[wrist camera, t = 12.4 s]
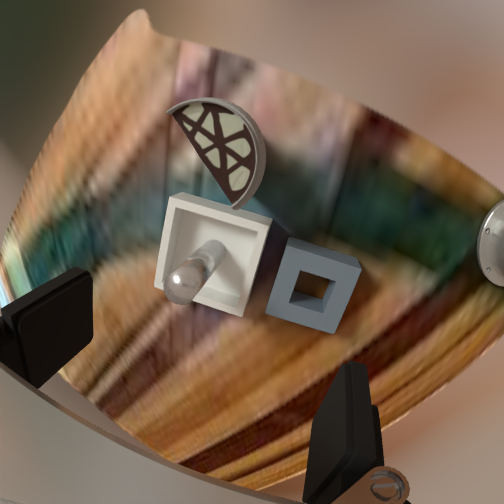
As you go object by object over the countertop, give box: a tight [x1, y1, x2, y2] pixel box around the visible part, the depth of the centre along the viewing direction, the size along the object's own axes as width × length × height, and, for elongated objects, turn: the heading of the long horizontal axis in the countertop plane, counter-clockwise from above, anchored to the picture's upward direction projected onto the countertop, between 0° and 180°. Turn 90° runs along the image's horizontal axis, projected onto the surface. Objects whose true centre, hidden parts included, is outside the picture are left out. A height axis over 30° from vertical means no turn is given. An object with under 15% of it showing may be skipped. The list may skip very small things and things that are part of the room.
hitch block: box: [265, 236, 362, 334], centre depth 39 cm, size 9×9×4 cm
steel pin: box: [163, 239, 226, 305], centre depth 35 cm, size 3×3×12 cm
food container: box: [166, 98, 266, 210], centre depth 33 cm, size 12×6×10 cm, turn 33°
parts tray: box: [154, 192, 273, 317], centre depth 40 cm, size 12×12×4 cm
